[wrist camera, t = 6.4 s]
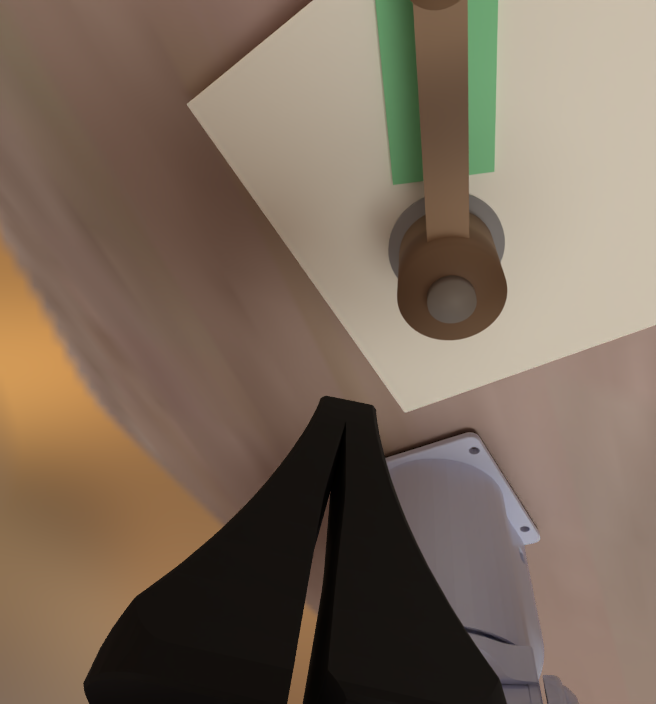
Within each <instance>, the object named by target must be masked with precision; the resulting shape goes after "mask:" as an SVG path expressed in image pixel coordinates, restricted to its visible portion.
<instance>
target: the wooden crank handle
mask: <svg viewBox="0 0 656 704" xmlns="http://www.w3.org/2000/svg"><path fill="white" fill-rule="evenodd" d="M410 1H411V2H412V3H413V13H414V30H415V47H416V63H417V80H418V97H419V114H420V130H421V147H422V164H423V180H424V197H425V214H426V215H424V216H422V217H421V218H419V219H418V220H417V221H415V222H414V223H413V224H412V225H411V226H410V227H409V229H408V230H407V231H406V233H405V235H404V237H403V239H402V241H401V245H400V251H399V267H398V285H397V303H398V307H399V310H400V313H401V315H402V317H403V318H404V320H405V321H406V322H407V323H408V325H409V326H410V327H412V328H413V329H414V330H415V331H417V332H419V333H420V334H422V335H424V336H427V337H430V338H433V339H438V340H460V339H464V338H468V337H471V336H473V335H476V334H478V333H480V332H481V331H483V330H485V329H486V328H487V327H489V326H490V325H491V324H492V323H493V322H494V321H495V320H496V319H497V318H498V316H499V315H500V313H501V312H502V310H503V308H504V305H505V302H506V299H507V282H506V278H505V275H504V272H503V269H502V266H501V263H500V259H499V256H498V253H497V250H496V247H495V244H494V241H493V238H492V235H491V232H490V230H489V229H488V227H487V226H486V224H485V223H484V222H483V221H482V220H481V219H480V218H478V217H477V216H475V215H474V214H472V213H470V212H469V120H468V0H410Z"/></svg>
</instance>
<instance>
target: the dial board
mask: <svg viewBox="0 0 656 704" xmlns="http://www.w3.org/2000/svg"><path fill="white" fill-rule="evenodd" d="M187 106H188V107H189V109H190V110H191V111H192V113H193V114H194V116H195V117H196V118H197V120H198V121H199V123H200V124H201V125H202V127H203V128H204V130H205V131H206V133H207V134H208V135H209V137H210V138H211V140H212V141H213V142H214V144H215V145H216V147H217V148H218V150H219V151H220V152H221V154H222V155H223V157H224V158H225V159H226V161H227V162H228V164H229V165H230V166H231V168H232V169H233V171H234V172H235V174H236V175H237V176H238V178H239V179H240V181H241V182H242V183H243V185H244V186H245V188H246V189H247V190H248V192H249V193H250V195H251V196H252V198H253V199H254V200H255V202H256V203H257V205H258V206H259V207H260V209H261V210H262V212H263V213H264V215H265V216H266V217H267V219H268V220H269V222H270V223H271V224H272V226H273V227H274V229H275V230H276V231H277V233H278V234H279V236H280V237H281V239H282V240H283V241H284V243H285V244H286V246H287V247H288V248H289V250H290V251H291V253H292V254H293V255H294V257H295V258H296V260H297V261H298V263H299V264H300V265H301V267H302V268H303V270H304V271H305V272H306V274H307V275H308V277H309V278H310V280H311V281H312V282H313V284H314V285H315V287H316V288H317V289H318V291H319V292H320V294H321V295H322V296H323V298H324V299H325V301H326V302H327V304H328V305H329V306H330V308H331V309H332V311H333V312H334V313H335V315H336V316H337V318H338V319H339V320H340V322H341V323H342V325H343V326H344V328H345V329H346V330H347V332H348V333H349V335H350V336H351V337H352V339H353V340H354V342H355V343H356V345H357V346H358V347H359V349H360V350H361V352H362V353H363V354H364V356H365V357H366V359H367V360H368V361H369V363H370V364H371V366H372V367H373V369H374V370H375V371H376V373H377V374H378V376H379V377H380V378H381V380H382V381H383V383H384V384H385V385H386V387H387V388H388V390H389V391H390V393H391V394H392V395H393V397H394V398H395V400H396V401H397V402H398V404H399V405H400V407H401V408H402V410H403V411H404V412H405V413H406V412H409V411H412V410H415V409H418V408H421V407H423V406H426V405H429V404H432V403H435V402H438V401H440V400H443V399H446V398H449V397H452V396H455V395H458V394H460V393H463V392H466V391H469V390H472V389H475V388H477V387H480V386H483V385H486V384H489V383H492V382H495V381H497V380H500V379H503V378H506V377H509V376H512V375H514V374H517V373H520V372H523V371H526V370H529V369H532V368H534V367H537V366H540V365H543V364H546V363H549V362H551V361H554V360H557V359H560V358H563V357H566V356H569V355H571V354H574V353H577V352H580V351H583V350H586V349H588V348H591V347H594V346H597V345H600V344H603V343H606V342H608V341H611V340H614V339H617V338H620V337H623V336H625V335H628V334H631V333H634V332H637V331H640V330H643V329H645V328H648V327H651V326H654V325H656V0H468V120H469V212H470V213H472V214H474V215H475V216H477V217H478V218H480V219H481V220H482V221H483V222H484V223H485V224H486V226H487V227H488V229H489V230H490V232H491V235H492V238H493V241H494V244H495V247H496V250H497V253H498V256H499V259H500V263H501V266H502V269H503V272H504V275H505V278H506V282H507V299H506V302H505V305H504V308H503V310H502V312H501V313H500V315H499V316H498V318H497V319H496V320H495V321H494V322H493V323H492V324H491V325H490V326H489V327H487V328H486V329H485V330H483V331H481V332H480V333H478V334H476V335H473V336H471V337H468V338H464V339H460V340H438V339H433V338H430V337H427V336H424V335H422V334H420V333H419V332H417V331H415V330H414V329H413V328H412V327H410V326H409V325H408V323H407V322H406V321H405V320H404V318H403V317H402V315H401V313H400V310H399V307H398V303H397V285H398V267H399V251H400V245H401V241H402V239H403V237H404V235H405V233H406V231H407V230H408V229H409V227H410V226H411V225H412V224H413V223H414V222H415V221H417V220H418V219H419V218H421V217H422V216H424V215H426V214H425V197H424V180H423V164H422V147H421V130H420V114H419V97H418V80H417V63H416V47H415V30H414V13H413V3H412V2H411V1H410V0H313V1H312V2H310V3H309V4H308V5H307V6H305V7H304V8H303V9H302V10H301V11H299V12H298V13H297V14H296V15H295V16H293V17H292V18H291V19H290V20H288V21H287V22H286V23H285V24H284V25H282V26H281V27H280V28H279V29H277V30H276V31H275V32H274V33H273V34H271V35H270V36H269V37H268V38H267V39H265V40H264V41H263V42H262V43H260V44H259V45H258V46H257V47H256V48H254V49H253V50H252V51H251V52H250V53H248V54H247V55H246V56H245V57H243V58H242V59H241V60H240V61H239V62H237V63H236V64H235V65H234V66H233V67H231V68H230V69H229V70H228V71H226V72H225V73H224V74H223V75H222V76H220V77H219V78H218V79H217V80H216V81H214V82H213V83H212V84H211V85H209V86H208V87H207V88H206V89H205V90H203V91H202V92H201V93H200V94H198V95H197V96H196V97H195V98H194V99H192V100H191V101H190V102H189V103H188V104H187Z"/></svg>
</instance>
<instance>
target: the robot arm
mask: <svg viewBox="0 0 656 704" xmlns="http://www.w3.org/2000/svg"><path fill="white" fill-rule="evenodd" d="M472 447H476V448H474V449H472ZM330 491H331V492H330ZM329 494H330V504H329V516H328V529H327V542H326V554H325V567H324V577H323V586H322V593H321V599H320V605H319V611H318V617H317V623H316V629H315V635H314V641H313V647H312V653H311V659H310V664H309V670H308V676H307V682H306V688H305V693H304V699H303V704H543V702H542V696H541V691H540V685H539V678H540V675H541V672H542V668H543V662H544V644H543V638H542V633H541V628H540V623H539V618H538V613H537V608H536V603H535V598H534V593H533V588H532V583H531V578H530V573H529V568H528V563H527V558H526V552H525V547H524V545H527V544H532V543H536V542H538V541H539V540H540V534H539V531H538V530H537V528H536V526H535V525H534V523H533V522H532V520H531V518H530V517H529V515H528V514H527V512H526V510H525V509H524V507H523V506H522V504H521V502H520V501H519V499H518V498H517V496H516V494H515V493H514V491H513V490H512V488H511V486H510V485H509V483H508V482H507V480H506V478H505V477H504V475H503V474H502V472H501V470H500V469H499V467H498V466H497V464H496V463H495V461H494V459H493V458H492V456H491V455H490V453H489V451H488V450H487V448H486V447H485V445H484V443H483V442H482V440H481V439H480V437H479V436H478V435H477V434H475V433H472V432H468V433H464V434H460V435H457V436H454V437H451V438H448V439H444V440H441V441H438V442H435V443H432V444H428V445H425V446H422V447H419V448H416V449H413V450H409V451H406V452H403V453H400V454H397V455H393V456H390V457H387V458H385V456H384V452H383V448H382V444H381V440H380V435H379V430H378V424H377V417H376V409H375V408H374V406H373V405H369V404H364V403H359V402H355V401H350V400H345V399H340V398H335V397H330V396H324V397H322V398H321V399H320V401H319V404H318V407H317V409H316V411H315V413H314V415H313V417H312V419H311V420H310V422H309V424H308V425H307V427H306V429H305V430H304V432H303V434H302V435H301V437H300V438H299V440H298V441H297V443H296V444H295V445H294V447H293V448H292V450H291V451H290V453H289V454H288V455H287V457H286V458H285V459H284V461H283V462H282V463H281V464H280V466H279V467H278V468H277V470H276V471H275V472H274V473H273V475H272V476H271V477H270V478H269V480H268V481H267V482H266V483H265V484H264V485H263V487H262V488H261V489H260V490H259V491H258V492H257V493H256V494H255V495H254V497H253V498H252V499H251V500H250V501H249V502H248V503H247V504H246V505H245V506H244V507H243V508H242V509H241V510H240V511H239V512H238V513H237V514H236V515H235V516H234V517H233V518H232V519H231V520H230V521H229V522H228V523H227V524H226V525H225V526H224V527H223V528H222V529H220V530H219V531H218V532H217V533H216V534H215V535H214V536H213V537H212V538H210V539H209V540H208V541H207V542H206V543H205V544H204V545H202V546H201V547H200V548H199V549H198V550H196V551H195V552H194V553H193V554H192V555H190V556H189V557H188V558H187V559H186V560H185V561H183V562H182V563H181V564H179V565H178V566H177V567H176V568H174V569H173V570H172V571H170V572H169V573H168V574H166V575H165V576H164V577H162V578H161V579H160V580H158V581H157V582H155V583H154V584H153V585H151V586H150V587H149V588H147V589H146V590H145V591H143V592H142V593H140V594H139V595H138V596H136V597H135V598H134V600H133V601H132V602H131V603H130V605H129V606H128V607H127V609H126V610H125V611H124V613H123V614H122V615H121V617H120V618H119V620H118V621H117V622H116V624H115V625H114V627H113V628H112V630H111V631H110V633H109V635H108V636H107V638H106V639H105V641H104V643H103V644H102V646H101V648H100V650H99V652H98V654H97V656H96V658H95V660H94V662H93V664H92V667H91V669H90V671H89V673H88V675H87V677H86V679H85V681H84V683H83V684H84V691H85V695H86V697H87V699H88V702H89V704H287V701H288V695H289V690H290V684H291V679H292V673H293V668H294V662H295V656H296V650H297V644H298V638H299V633H300V627H301V621H302V615H303V609H304V604H305V598H306V592H307V586H308V581H309V575H310V569H311V563H312V558H313V552H314V548H315V544H316V541H317V537H318V534H319V530H320V526H321V523H322V519H323V516H324V512H325V509H326V505H327V501H328V498H329ZM543 681H544V687H545V693H546V699H547V704H579V702H578V700H577V697H576V696H575V695H574V694H573V693H572V692H571V691H570V690H569V689H568V688H567V687H566V686H564V685H562V682H561V680H560V679H559V678H558V677H557V676H554V675H543Z"/></svg>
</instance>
